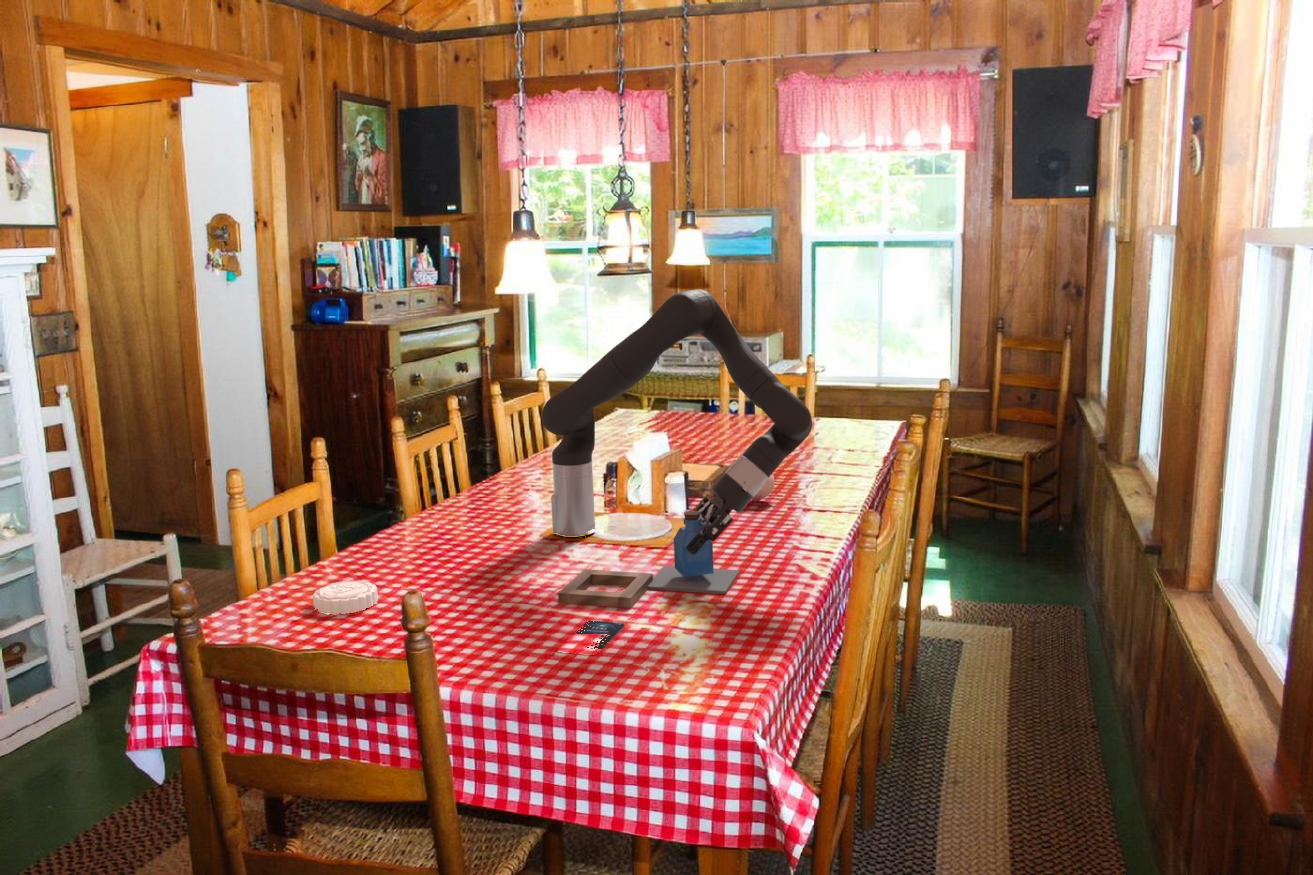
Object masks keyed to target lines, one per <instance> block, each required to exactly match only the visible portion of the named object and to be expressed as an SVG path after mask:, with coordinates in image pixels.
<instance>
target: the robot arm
mask: <svg viewBox="0 0 1313 875" xmlns="http://www.w3.org/2000/svg"><path fill="white" fill-rule="evenodd" d="M695 335H701V336H702V337H703V338H705V339H706V340H707V341H708V342H710V343H711V344H712V345H713V347H714V348H715V349H716V350H717V351H718V353H719V355H720V356H721V358H722V360H723V362H724V365H725V367H726V369H727V373H728V374H729V376H730V378H731V379H732V381H733V383H734V384H735V385H736V386H737V388H739V390H740V391H741V392H742V393H743V394H744V395H745V396H746V397H747V398H748V399H749V401H750V402H752V404H753V405H754V406H756V407H757V408H759V409H761V410H762V411H763V412H764V413H765V415H766V416H767V417H768V418H769V419H770V420H771V422H773V424H772V426H771V427H769V429H768V430H767V431H765V433H764V434H763V435H762V436H761V435H760V436H758V437H757V438H756V439H754V441H753V442H751V444H750V445H749V446H748V447H747V448H746V449H745V450H744V452H743V453H742V454H741V456H739V457H738V458H737V459H736V460H735V461H734V462H733V463H732V464H731V465H730V466H729V467H728V468H727V469H726V470H725V472H724V473H723V474H721V475H722V476H721V477H720V478H718V480H717V481H716V482H715V484H713V486H712V487H711V491H712V492H713V493H714V494H715V495H714V496H713V497H712V498H711V499H710V498H708V496H704V497H703V498H702V499H701V501H699V503H698V504H697V506H696V507H695V508H694V510H693V511H699V512H700V515H699V517H700V518H701V524H700V527H702V528H701V530H700V532H699V534H700V535H699V534H697V535H696V536H695V537H694V538H693V540H692V541H691V542H690V543H689V544H688V545H687V547H686V549H687V550H688V551H689V552H691V553H692V554H693V555H694V554H696V553H697V552H698V551H699V549H700V548H701V547H702V546H703V545H704V544H705V542H706V541H710V540H711V541H712V543H713V542H715V541H716V540H717V539H718V537H720V535H721V534H722V533H723V532H724V531H725V530H726V529H727V528H728V527H729V526H730V525H731V524H732V523H733V522H734V518H732V517H731V516H730V515H731V512H732V511H734V512H736V513H739V514H740V513H741V512H742V511H743V510H744V509H745V508H746V506H748V504H749V503H750V502H751V501H752V500H751V499H752V498H753V497H754V496H755V495H756V494H757V493H758V491H759V490H760V489H761V488H762V487H763V485H764V484H765V482H766V481H767V479H768V478H769V477H770V476H771V474H772V475H773V473H774V472H775V471H777V468H779V466H780V465H781V464H782V463H783V461H784V460H785V459H786V458H787V457H789V455H791V454H792V453H793V452H794V451H795V450H796V449H797V448H799V446H800V445H801V444H802V443H803V442H804V441H805V440H806V439H807V438H808V437H809V435H810V433H811V431H812V429H813V419H812V414H811V412H810V410H809V408H808V407H807V405H805V404H804V402H803V401H802V400H801V399H800V398H799V397H797V395H796V394H794V393H793V392H792V391H791V390H790V389H788V388H787V387H786V386H785V385H783V383H782V382H781V381H780V380H779V379H778V377H777V376H776V375H775V374H774V373H773V372H772V371H771V370H770V368H768V367H767V366H766V365H765V364H764V362H763V361H762V360H761V359H760V358H759V357H758V356H757V355H756V354H755V353H754V351H753V350H752V349H751V348H750V347H749V345H748V344H747V343H746V340H744V339H743V337H742V336H741V334H740V333H739V332H738V330H737V329H736V328H735V326H734V324H733V323H732V322H731V320H730V318H728V316H727V315H726V313H725V311H724V310H723V308H722V307H721V305H720V304H719V303H718V301H717V300H716V298H714V296H713V295H712V294H710V292H708V291H707V290H703V289H698V288H697V289H690V290H685V291H680V292H676V293H674V294H673V295H671V296H670V297H668V298H667V299H666V301H664V302H663V303H662V304H661V306H660V307H659V308H658V309H657V310H656V311H655V312H654V313H653V314H652V315H651V316H650V318H649V319H647V321H646V322H645V323H643V325H642V326H640V327H639V328H637V329H636V330H634V331H633V332H632V333H630V334H629V335H628V336H627V337H625V338H624V339H622V341H620V342H619V343H617V345H615V346H614V347H612V348H611V349H610V350H609V351H608V352H607V353H605V354H604V356H603V357H601V358H600V359H599V360H598V361H597V362H596V363H594V364H593V365H592V366H591V367H590V368H589V369H588V370H587V371H586V372H585V373H583V374H582V375H581V376H580V377H579V378H577V379H576V381H574V382H573V383H571V384H570V385H568V387H565V388H564V389H563V390H561V391H560V392H558V393H556V394H555V395H553V396H551V397H550V398H548V400H547V401H546V402H545V404H544V405H543V408H542V411H541V421H542V422H541V423H542V425H543V427H544V428H545V430H547V431H548V432H549V433H551V434H553V435H558V436H562V438H561V441H560V442H559V444H558V445H557V446H556V447H555V448H554V449H553V450H552V453H551V460H552V461H551V462H552V476H553V477H552V479H553V494H551V496H550V501H551V503H550V505H551V506H550V507H551V522H552V534H553V533H558V534H560V535H565V536H580V535H584V534H586V532H588V531H590V530H592V529H595V530H596V521H595V520H596V518H595V514H596V513H595V496H594V492H595V491H594V474H593V473H594V472H593V452H594V449H595V444H596V442H595V440H596V438H595V437H596V435H595V434H596V429H595V428H596V427H595V426H596V422H595V421H596V417H595V416H596V414H595V409H594V408H596V407H598V406H600V405H601V404H604V403H606V402H609V401H611V400H613V399H614V398H616V397H618V396H620V395H622V394H624V393H625V392H627V391H629V390H631V388H633V387H635V385H636V384H638V383H640V381H642V380H643V379H644V378H645V377H646V376H648V374H650V372H651V371H652V369H654V366H655V364H656V362H657V361H658V359H659V358H660V356H662V354H663V353H664V352H666V351H667V350H669V348H671V347H672V346H674V345H675V344H677V343H679V342H680V341H683V340H684V339H686V338H688V337H691V336H695Z"/></svg>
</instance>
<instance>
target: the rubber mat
mask: <svg viewBox="0 0 1313 875" xmlns="http://www.w3.org/2000/svg"><path fill="white" fill-rule="evenodd" d="M713 569H714V573H713V574H705V575H697V576H689V577H683V576H682V575H681V574H680V573H679V572H678V571H677V570H676V569H675V566H667V565H664V566H663V567H662V568H661V569H660V570H659V571H658V572H657V573H656V574H655V576H653V581H652V582H651V583H650V584H649V585H648V590H653V591H669V592H682V593H683V592H686V593H697V594H699V593H700V594H717V595H719V594H720V595H726V594H727V593H728V591H729V590H730V588H731V587H732V586H733V584H734V583H735V581H736V580H737V578H738V576H739V575H740V570H738V569H737V570H735V569H721V568H719V569H718V568H713Z"/></svg>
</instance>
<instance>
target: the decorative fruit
mask: <svg viewBox="0 0 1313 875" xmlns="http://www.w3.org/2000/svg"><path fill="white" fill-rule="evenodd" d="M774 489H775V477H774V475H773V473H772V474H771V476H770V477H769V478H768V479H767V481H766V482H765V484H764V485H763V487H762V488H761V489H760V490H759V491H758V493H757V494H756V495H755V496H754V497H753V498H752V499H751V501H752V502H755V503H759V502H760V501H761V500H763V499H765V498H767V497H768V496H769V495H770V494H772V492H773V491H774Z"/></svg>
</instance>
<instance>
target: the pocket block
mask: <svg viewBox="0 0 1313 875" xmlns="http://www.w3.org/2000/svg"><path fill="white" fill-rule="evenodd" d="M653 578H654V574H653V573H649V572H633V571H632V572H630V571H617V570H615V571H613V570H599V569H598V570H597V569H583V570H581V572H580V573H578V574H577V575H576V576H575V577H574V578H573V579H571V580H570V581H569V582H568V583H567V584H566V585H565V586H564V587H563V588H562V589H561V590H559V592H557V599H558V601H557V602H558V604H567V605H568V604H569V605H580V604H583V606H595V605H596V606H599V607H612V608H614V607H615V608H625V609H626V608H627V609H629V608H630V609H631V608H634V607H633V606H635V604H637V602H638V601H639V600H640V599H641V598H642V597H643V595H644V594H645V593H646V592H647V591H648V590H649V589H648V585H649V584H650V583H651V582H652V581H653ZM592 584H593V585H608V586H609V585H611V586H624V587H625V586H626V588H625V589H624V590H623V591H620V592H617V591H601V590H590V589H589V590H587V589H588V588H589V587H590V586H591V585H592Z"/></svg>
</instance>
